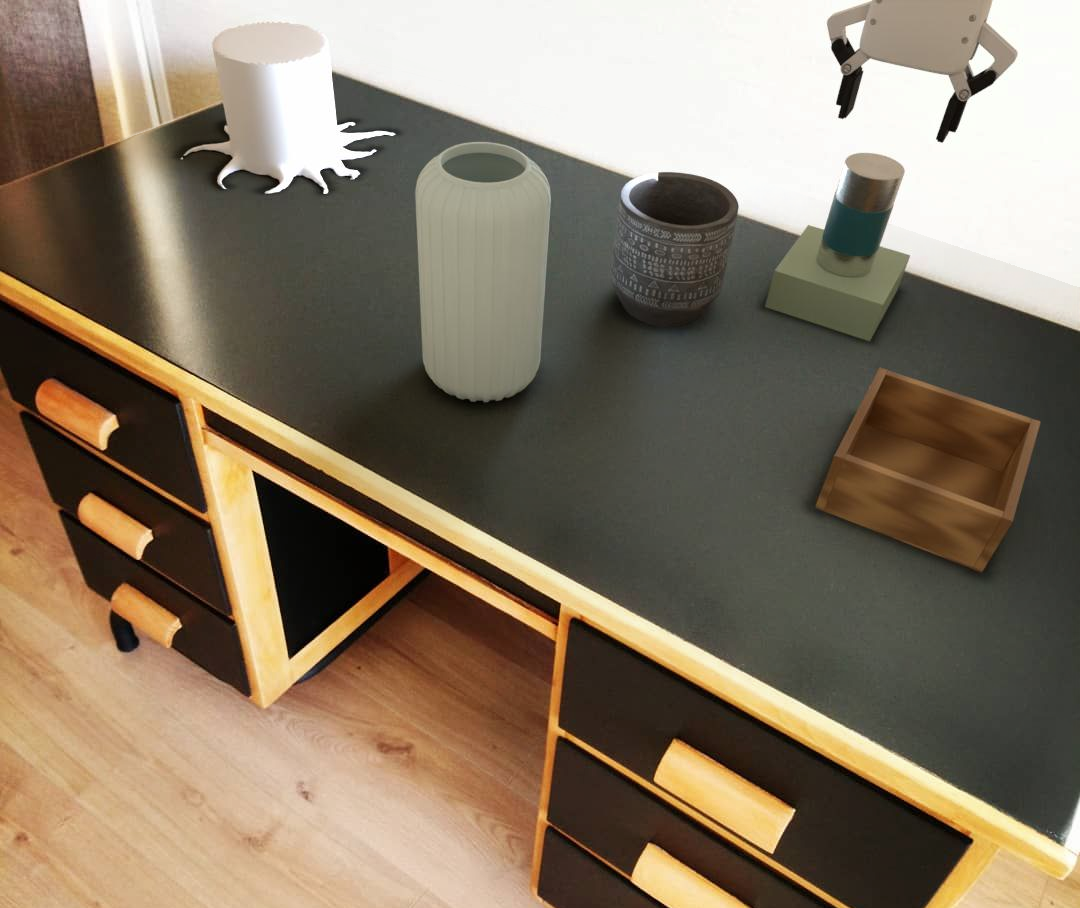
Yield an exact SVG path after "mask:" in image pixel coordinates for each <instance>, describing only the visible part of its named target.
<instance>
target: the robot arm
mask: <svg viewBox="0 0 1080 908" xmlns="http://www.w3.org/2000/svg"><path fill="white" fill-rule="evenodd" d="M993 1H994V0H870V1H868V2H864V3H862V4H858V5H855V6H853V7H848V8H847V9H843V10H840V11H838V12H834V13H833V14H831V15H830V16H829V17H828V19H827V20H826V26H827V31H828V32H827V33H828V36H829V41H830V44H831V46H830V49H831V52H832V55H834V57H835V59H836V61H837V63H838V65H839V66H840V72H841V74H842V78H841V82H840V85H839V89H838V92H837V93H838V94H837V98H836V101H835V105H836V106H840V108H839V111H838V116H837V118H838V119H841V120H844V119H847V117H848V116H849V115H850V114H851V112H852V111H853V110H854V108H855V105H856V101H857V96H858V94H859V89H860V85H861V83H862V79H863V75H864V70H863V67H862V66H863V65H864V64H865V63H866V62H868V61H869V60H870V59H871V60H874V61H878V62H881V63H886V64H891V65H895V66H900V67H905V68H909V69H913V70H918V71H921V72H922V71H923V72H926V73H927V72H928V73H933V74H938V75H944V76H948V78H949V80H950V83H951V85H952V88H953V90H954V91H953V93H952V95H951V96H950V98H949V100H948V102H947V105H946V109H945V111H944V113H943V117H942V120H941V123H940V124H939V125H940V126H939V129H938V131H937V134H936V137H935V140H936V141H937V142H938V143H944V142H945V140H946V138H947V137H948V135H949V133H950V132H951V133H957V130H958V129H959V125H960V122H961V120H962V117H963V114H964V113H965V109H966V106H967V104H968V101H969V99H970V98H971V97H974V96H975V95H977V94H979V93H981V92H982V91H984V90H985V89H987V88H989V87H991V86H992V85H993V84H994V83H995V82H996V81H997V80H998V79H999V78H1000V77H1001V76H1002V75H1003V74H1004V73H1005V72H1006V71H1007V70H1008V69H1009V68H1010V67H1011V66H1012V65H1013V64H1014V63H1015V61H1016V60H1017V57H1018V55H1019V53H1018V50H1017V49H1016V48H1015V47H1014V46H1013V45H1012V44H1011V43H1009V42H1008V41H1007V40H1006V39H1005V38H1004V37H1003V36H1002V35H1001V34H999V32H997V31H996V30H995V29H994V28H993V27H992V26H991V25H990V24H989V23H988V22H987V21H988V19H989V15H990V11H991V8H992V4H993ZM863 21H864V22H863ZM861 22H863V23H864V24H863V26H862V30H861V35H860V39H859V48H858V49H856V50H855V49H854V46H852V45H853V44H852V42H851V41H850V40H849V38H848V37H847V31H846V28H847V27H848V26H851V25H854V24H857V23H861ZM979 46H981V48H983V49H984V50H985V51H987V53H989V54H990V55H991V56H992V57H993V59H994V61H993V63H992V64H991V65H989V67H987V68H985V69H984V70H982V71H981V72H979V73H977V74H974V71H973V69H972V67H971V64H970V61H972V60H973V59H974V57H975V55H976V53H977V51H978V48H979Z"/></svg>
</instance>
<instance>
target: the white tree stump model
mask: <svg viewBox="0 0 1080 908" xmlns="http://www.w3.org/2000/svg"><path fill="white" fill-rule="evenodd" d="M211 46H212V52H213V56H214V63H215V68H216V74H217V77H218V78H217V79H218V83H219V84H218V85H219V89H220V94H221V101H222V104H223V105H222V106H223V110H224V111H223V112H224V116H225V121H226V124H225V125H224V129H223V131H225V133H226V134H227V135H228V137H229V140H228V141H224V142H219V143H209V144H202V145H198V146H195V147H194V146H193V147H192V148H190V149H188V150H187V151H186V152H185V153H184V154H183V156H184V157H185V156H187V155H188V154H190V153H192V152H198V151H204V150H205V151H210V152H211V151H215V152H220V153H223V154H225V155H229V156H230V157H232V159H231V160H230V161H229V162H228V163H227V164H226V165H225V166H224V167H223V168H222V169H221V170H220V172H219V174H218V175H217V181H216V182H217V184H218V185H219V186H220V187H221V188H222V189H224V190H227V188H226V187H225V186H224V184H223V182H222V181H223V179H225V177H227V176H229V174H232V173H234V172H237V171H240V170H242V171H243V170H244V171H247V172H249V173H252V174H255V175H260V176H269V177H271V178H273V179H277V180H278V182H279V184H278V185H277V186H276V187H273V188H271V189H269V190H266V191H265V192H264V194H265V195H267V194H273V193H274V194H275V193H280V192H281V191H282V190H285V189H286V188H287V187H289V185H290V184H291V183H292V181H293V179H294V177H297V176H299V177H300V176H303V177H305V178H307V179H311V180H312V181H314V183H316V184H318V185H319V186H320V187H322V188H323V195H324V194H328V193H329V189H328V185H327V184H326V182H325V181H324V179H323V177H322V175H321V170H323V169H324V170H325V169H332V170H333V171H334V172H335V174H336V175H337V176H339V177H345V176H347V177H348V176H349V177H351V178H350V180H355V178H358V176H359V175H361V173H360V172H359V171H358V170H357V169H356V170H355V169H349V168H347V167H345V165H344V163H343V162H342V161H343V160H345V161H346V160H354V159H360V158H361V159H362V158H364V157H365V158H366V157H368V156H371V155H373V153H375V152H377V150H376V149H372V150H371V151H353V150H349V149H347V148H345V146H347V145H348V144H351V143H353V142H355V141H359V140H363V139H369V138H373V137H380V136H384V135H386V136H391V137H392V136H395V135H396V133H395V132H389V131H383V130H375V131H368V132H341V131H343V130H344V129H346V128H348V127H349V126H351V127H352V126H355V125H356V123H355V122H353V121H352V122H345V123H343V124H337V123H338V122H337V114H336V103H335V94H334V85H333V76H332V66H331V65H332V64H331V56H330V48H329V47H330V46H329V41H328V38H327V36H326V35H325V34H323V32H321V31H319V29H314V28H313V27H310V26H308V25H306V24H305V25H304V24H298V23H297V24H296V23H289V22H281V21H278V22H274V21H272V22H269V21H267V22H264V21H262V22H261V23H260V22H256V23H250V24H248V23H246V24H244V25H238V26H237V27H232V28H227V29H225V30H222V31H221V32H220V33H219V34H218V35H216V36H214V38H213V39H212V42H211ZM183 156H182V157H181V158H180V160H184V157H183Z"/></svg>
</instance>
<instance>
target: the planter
mask: <svg viewBox="0 0 1080 908" xmlns="http://www.w3.org/2000/svg"><path fill="white" fill-rule="evenodd" d="M739 206H740V205H739V202H738V199H737V198H736V195H734V194H733V192H732V191H731V190H730V189H729V188H727V187H726V186H724V185H723V184H721V183H719V182H717V181H715V180H713V179H710V178H708V177H704V176H700V175H697V174H693V173H692V174H691V173H685V172H675V171H660V172H659V171H657V172H650V173H645V174H641V175H639V176H637V177H633V178H632V179H630V180H629V181H627V182H626V183H625V184H624V185H623V186H622V188H621V189H620V194H619V202H618V210H617V217H616V225H615V231H614V232H615V234H614V241H613V242H614V244H613V249H612V256H611V261H610V262H611V263H610V274H609V276H610V281H611V284H612V288H613V289H614V292H615V293H616V296H617V298H618V299H619V301H620V303H621V304H622V306H623V308H624V309H625V311H626V312H627V313H628V314H629V315H630V316H632V317H633V318H634V319H636V320H638V321H640V322H642V323H645V324H647V325H651V326H657V327H664V328H665V327H669V328H670V327H671V328H672V327H679V326H684V325H687V324H689V323H692V322H693V321H695V320H696V319H697V318H699V316H701V315H702V314H703V313H704V312H705V311H706V310H707V309H709V307H710V306H711V305H712V304H713V303H714V302H715V301H716V299H717V298H718V297H719V295H720V293H721V291H722V287H723V284H724V279H725V275H726V270H727V264H728V259H729V255H730V251H731V248H732V247H731V246H732V242H733V238H734V233H735V228H736V222H737V219H738V218H737V217H738V214H739Z"/></svg>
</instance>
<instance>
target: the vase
mask: <svg viewBox="0 0 1080 908" xmlns="http://www.w3.org/2000/svg"><path fill="white" fill-rule="evenodd" d="M551 195H552V194H551V187H550V183H549V181H548V178H547V177H546V175H545V172H544V171H543V170H542V168H541V167H540V166H539V165H538V164H537V163H536V162H535V161H533V160H532V159H531V158H530V157H528V156H527V155H525V154H524V153H523V152H521V151H520V150H518V149H516V148H515V147H512V146H510V145H506V144H503V143H497V142H491V141H470V142H464V143H463V142H462V143H458V144H456V145H453V146H451V147H448V148H446V149H445V150H443V151H442V152H440V153H439V154H438V155H436V156H434V157H433V158H432V159H431V160H429V161H428V162H427V163H426V164H425V166H424V167H423V169H422V170H421V171H420V173H419V175H418V178H417V180H416V185H415V192H414V197H415V217H416V218H415V219H416V221H415V222H416V235H417V236H416V239H417V240H416V241H417V242H416V244H417V260H418V261H417V263H418V282H419V284H418V285H419V286H418V287H419V306H420V310H419V311H420V327H421V328H420V329H421V350H422V351H421V352H422V354H421V355H422V362H423V366H424V370H425V372H426V374H427V375H428V377H429V378H430V379H431V380H432V382H433V383H434V384H435V386H436V387H438V388H439V389H441V390H443V391H444V392H445V393H446V394H448V395H450V396H452V397H454V396H455V397H456V398H457V399H460V400H463V401H464V400H469V401H470V402H473V403H476V402H478V401H482V402H483V403H489V402H490V401H496V402H498V401H502V400H503V399H504V398H507V399H509V398H511V397H513V396H515V395H516V394H518V393H520V392H522V391H524V390H525V389H526V388H527V386H528V385H529V384H531V383H532V382H533V380H534V379H535V377H536V376H537V372H538V371H539V367H540V363H541V353H542V341H543V340H542V339H543V338H542V337H543V336H542V335H543V323H544V308H545V307H544V306H545V305H544V304H545V293H546V279H547V278H546V277H547V276H546V275H547V264H548V263H547V261H548V248H549V247H548V246H549V234H550V233H549V231H550V216H551V204H552V203H551V201H552V199H551V198H552V197H551Z"/></svg>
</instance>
